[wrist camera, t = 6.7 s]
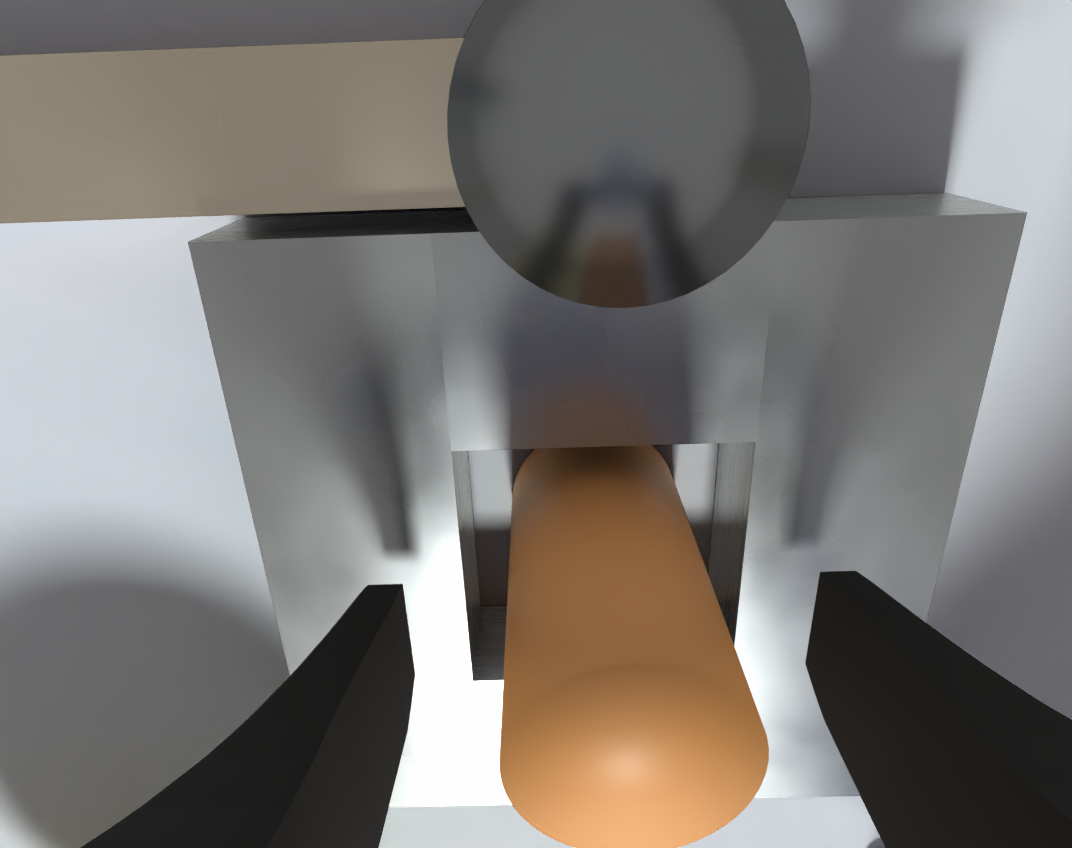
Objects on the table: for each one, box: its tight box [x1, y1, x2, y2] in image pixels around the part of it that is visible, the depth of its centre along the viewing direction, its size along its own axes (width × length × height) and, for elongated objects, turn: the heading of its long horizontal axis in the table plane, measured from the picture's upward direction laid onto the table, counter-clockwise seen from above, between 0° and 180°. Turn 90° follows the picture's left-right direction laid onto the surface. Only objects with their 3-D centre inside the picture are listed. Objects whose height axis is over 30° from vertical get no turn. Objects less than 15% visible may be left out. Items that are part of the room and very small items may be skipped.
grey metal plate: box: [0, 0, 1027, 808], centre depth 13 cm, size 16×20×5 cm
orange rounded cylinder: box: [499, 445, 769, 848], centre depth 13 cm, size 4×4×7 cm
